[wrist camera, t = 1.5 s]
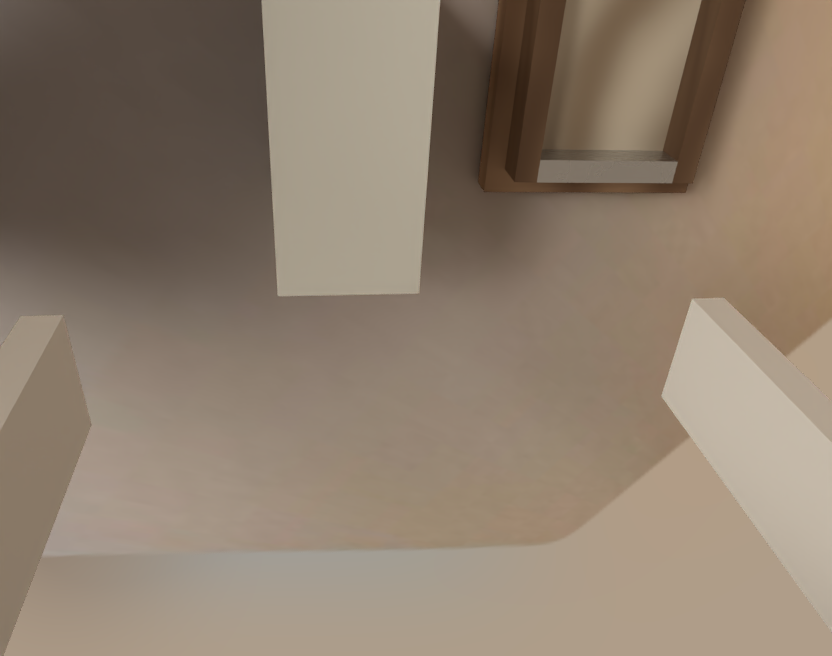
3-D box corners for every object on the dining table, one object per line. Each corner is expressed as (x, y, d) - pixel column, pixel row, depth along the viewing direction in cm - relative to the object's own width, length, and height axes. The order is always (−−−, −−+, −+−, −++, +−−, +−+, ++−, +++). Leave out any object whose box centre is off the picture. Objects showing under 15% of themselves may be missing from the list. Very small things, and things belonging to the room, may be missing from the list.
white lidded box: (281, 197, 38) (277, 296, 29) (270, -51, 31) (259, -26, 22) (390, 198, 39) (419, 294, 29) (400, -43, 32) (441, -16, 23)
